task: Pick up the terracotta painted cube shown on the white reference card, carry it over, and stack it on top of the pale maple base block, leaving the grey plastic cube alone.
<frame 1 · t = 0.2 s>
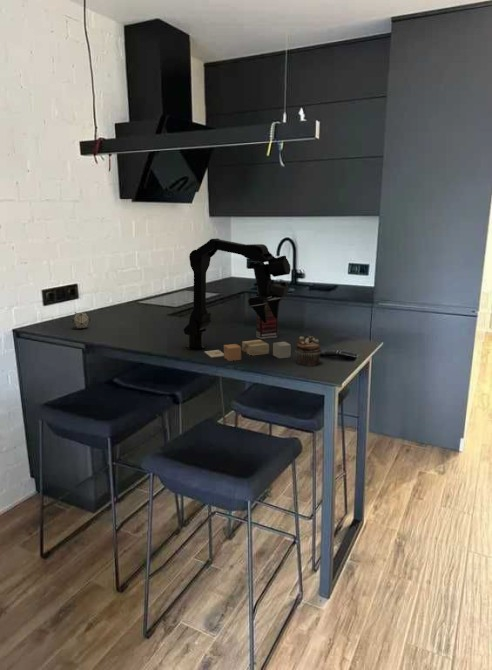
hand: (270, 320, 176), 15 cm above the worktop, tool pointing down, fingers open, 9 cm apart
maple base block: (255, 352, 189), on the worktop
supplement box: (266, 337, 213), on the worktop
grey plastic cube: (281, 356, 184), on the worktop
cupcake: (307, 362, 176), on the worktop
reference card: (215, 354, 185), on the worktop
terracotta cube: (232, 358, 180), on the worktop
beige faceted ball: (82, 329, 224), on the worktop
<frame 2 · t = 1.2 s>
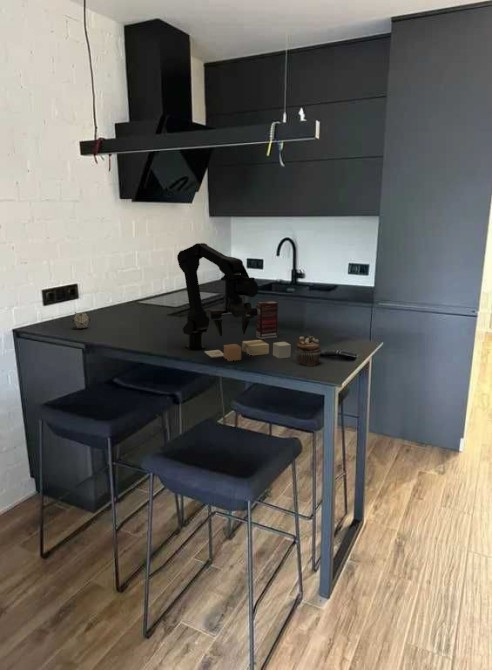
hand: (232, 335, 178), 9 cm above the worktop, tool pointing down, fingers open, 9 cm apart
nothing on the worktop moved.
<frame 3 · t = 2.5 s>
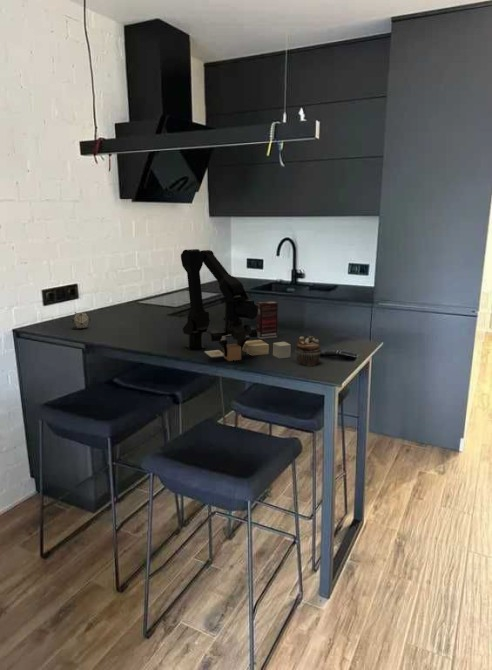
hand: (232, 355, 179), 1 cm above the worktop, tool pointing down, fingers closed on terracotta cube, 5 cm apart
terracotta cube: (232, 358, 180), on the worktop, touching gripper
everything else where it was.
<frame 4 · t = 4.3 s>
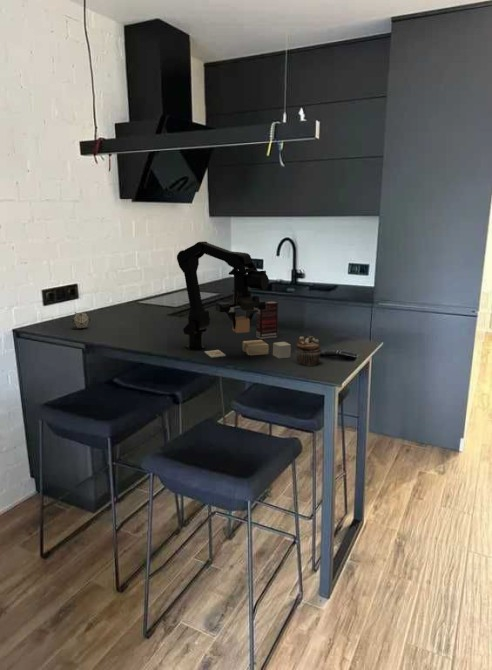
hand: (240, 328, 180), 11 cm above the worktop, tool pointing down, fingers closed on terracotta cube, 5 cm apart
terracotta cube: (240, 331, 180), point 10 cm above the worktop, touching gripper
everything else where it was.
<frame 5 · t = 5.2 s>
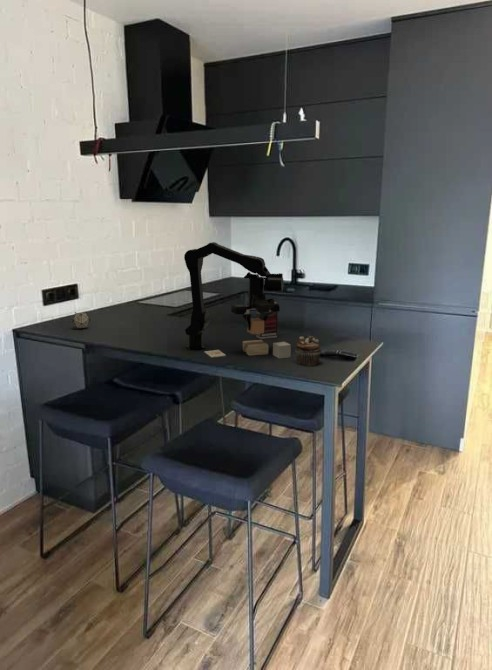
hand: (255, 329, 187), 9 cm above the worktop, tool pointing down, fingers closed on terracotta cube, 5 cm apart
terracotta cube: (255, 332, 187), point 8 cm above the worktop, touching gripper
everything else where it was.
when the fingers open (6 cm above the worktop, at t = 6.0 s): terracotta cube drops 2 cm, resting on maple base block.
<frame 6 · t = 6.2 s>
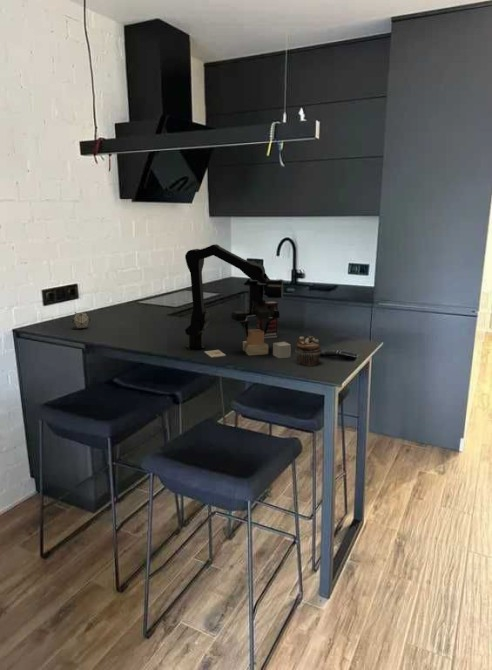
hand: (255, 336, 187), 6 cm above the worktop, tool pointing down, fingers open, 7 cm apart
maple base block: (255, 352, 189), on the worktop, touching terracotta cube
terracotta cube: (255, 343, 188), point 4 cm above the worktop, touching maple base block
everything else where it was.
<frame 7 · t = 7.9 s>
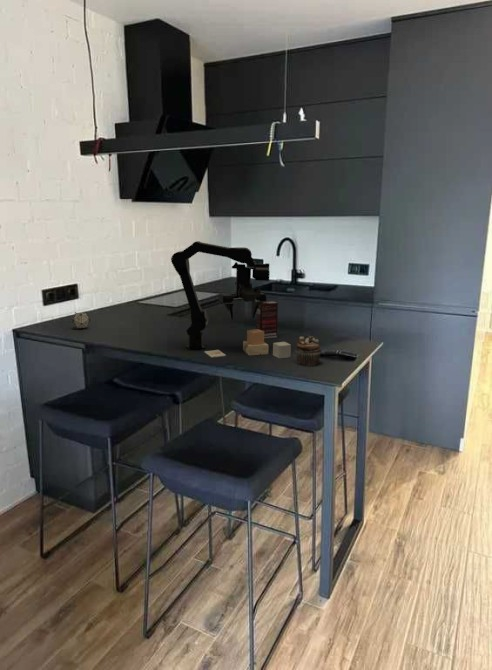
hand: (242, 318, 190), 12 cm above the worktop, tool pointing down, fingers open, 9 cm apart
maple base block: (255, 352, 189), on the worktop
terracotta cube: (255, 343, 188), point 4 cm above the worktop
everything else where it was.
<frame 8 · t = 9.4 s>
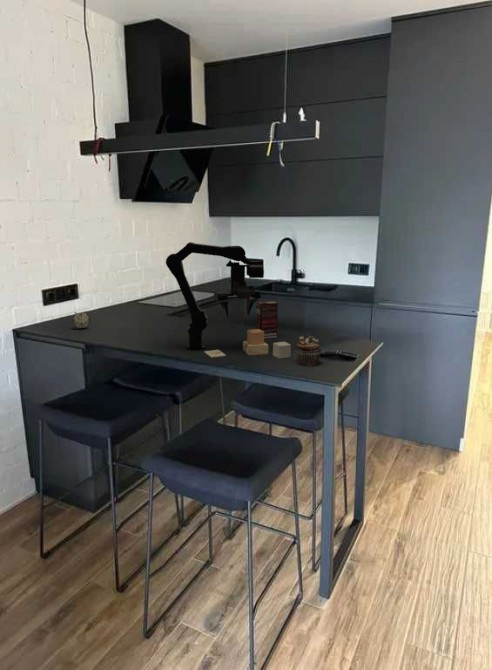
hand: (237, 316, 192), 13 cm above the worktop, tool pointing down, fingers open, 9 cm apart
maple base block: (255, 352, 189), on the worktop, touching terracotta cube
terracotta cube: (255, 343, 188), point 4 cm above the worktop, touching maple base block
everything else where it was.
at the end: terracotta cube 0.3 cm off-centre on the maple base block, point 4.0 cm above the maple base block's base; terracotta cube tilted 0°; the gripper is holding nothing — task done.
